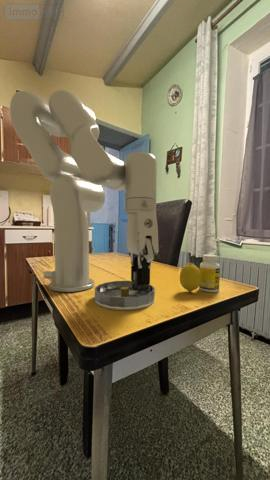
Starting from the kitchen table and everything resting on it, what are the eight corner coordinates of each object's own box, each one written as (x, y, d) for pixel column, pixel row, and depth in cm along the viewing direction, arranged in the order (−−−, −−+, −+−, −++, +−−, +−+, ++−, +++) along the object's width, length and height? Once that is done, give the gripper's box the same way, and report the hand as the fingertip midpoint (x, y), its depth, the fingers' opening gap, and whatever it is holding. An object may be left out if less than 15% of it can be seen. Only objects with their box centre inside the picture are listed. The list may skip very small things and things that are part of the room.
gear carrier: (85, 308, 46) (85, 285, 46) (105, 289, 60) (105, 271, 60) (151, 313, 44) (151, 288, 44) (156, 292, 58) (156, 274, 58)
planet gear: (135, 291, 51) (135, 273, 50) (129, 287, 54) (129, 270, 54) (151, 290, 52) (151, 272, 52) (144, 285, 56) (145, 269, 56)
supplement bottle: (217, 293, 57) (219, 257, 57) (197, 290, 60) (198, 255, 59) (220, 288, 62) (221, 254, 61) (201, 286, 65) (201, 253, 64)
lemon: (203, 295, 56) (204, 264, 55) (181, 295, 56) (182, 264, 55) (197, 289, 61) (198, 261, 61) (177, 289, 61) (178, 261, 61)
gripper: (171, 204, 46) (170, 290, 47) (142, 210, 61) (142, 274, 62) (138, 203, 43) (137, 293, 44) (116, 209, 59) (116, 276, 60)
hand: (140, 281), depth 53 cm, fingers closed on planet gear, 3 cm apart
